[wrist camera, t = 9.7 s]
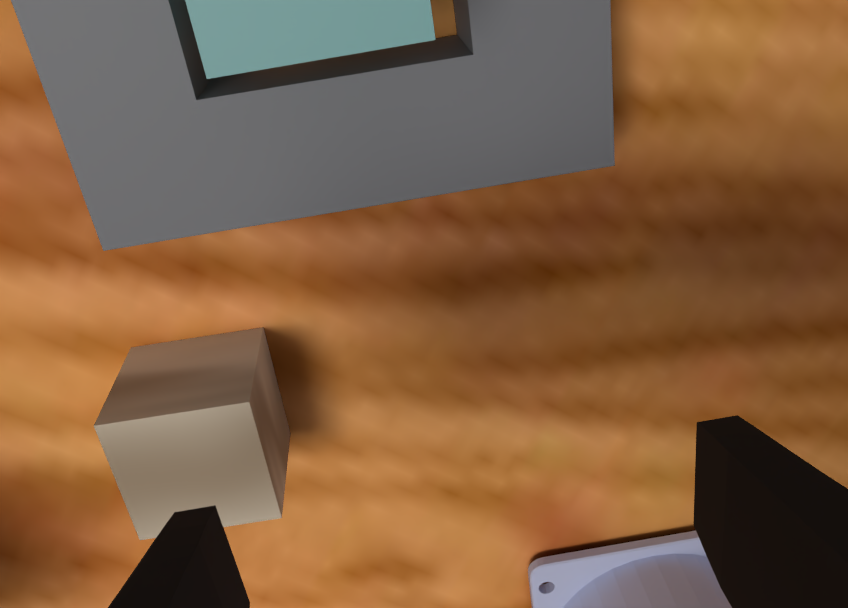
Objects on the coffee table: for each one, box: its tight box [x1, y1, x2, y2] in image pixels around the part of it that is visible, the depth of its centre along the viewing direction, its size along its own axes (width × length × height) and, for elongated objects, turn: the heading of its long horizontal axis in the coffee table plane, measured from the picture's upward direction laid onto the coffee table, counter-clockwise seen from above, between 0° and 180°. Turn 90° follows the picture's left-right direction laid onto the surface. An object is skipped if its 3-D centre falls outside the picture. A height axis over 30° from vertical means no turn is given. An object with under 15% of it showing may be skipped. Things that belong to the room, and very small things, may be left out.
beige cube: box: [94, 327, 290, 540], centre depth 20 cm, size 4×4×4 cm
